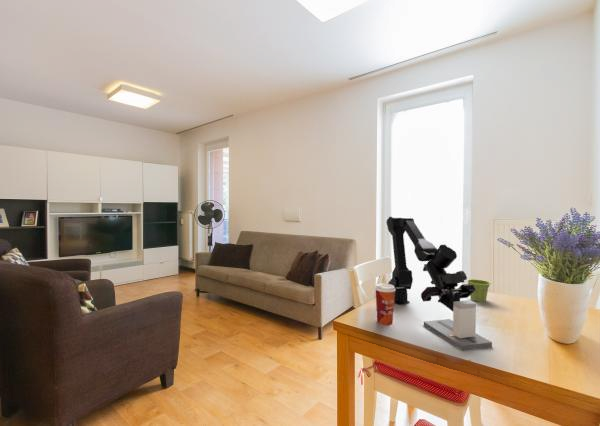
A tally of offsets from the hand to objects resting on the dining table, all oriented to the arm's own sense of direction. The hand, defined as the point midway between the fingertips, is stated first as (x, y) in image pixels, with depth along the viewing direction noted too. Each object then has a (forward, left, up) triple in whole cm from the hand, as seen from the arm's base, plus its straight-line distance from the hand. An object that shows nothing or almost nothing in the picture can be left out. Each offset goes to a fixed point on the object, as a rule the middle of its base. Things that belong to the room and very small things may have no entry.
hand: (460, 315), depth 99 cm
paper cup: (-21, -15, -8) cm, 26 cm away
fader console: (-2, 0, -8) cm, 8 cm away
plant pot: (-25, +42, -8) cm, 50 cm away
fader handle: (+2, 0, -6) cm, 6 cm away
